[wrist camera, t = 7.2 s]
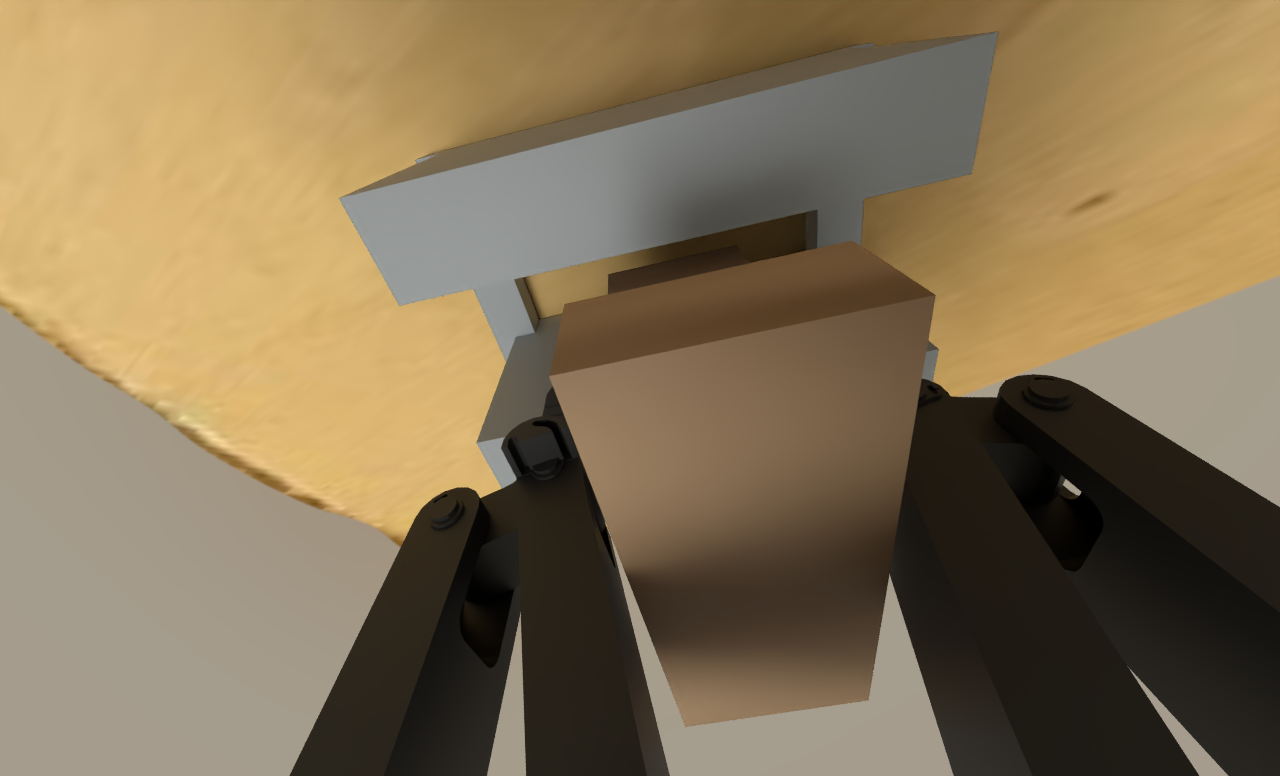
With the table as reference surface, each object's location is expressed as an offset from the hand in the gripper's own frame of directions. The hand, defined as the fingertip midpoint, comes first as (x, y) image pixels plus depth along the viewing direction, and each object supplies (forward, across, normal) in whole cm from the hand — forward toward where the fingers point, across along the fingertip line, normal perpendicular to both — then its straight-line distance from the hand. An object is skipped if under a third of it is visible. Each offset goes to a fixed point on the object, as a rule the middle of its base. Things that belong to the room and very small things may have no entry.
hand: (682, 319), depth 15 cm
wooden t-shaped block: (0, 0, 0) cm, 0 cm away
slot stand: (+9, 0, 0) cm, 9 cm away
